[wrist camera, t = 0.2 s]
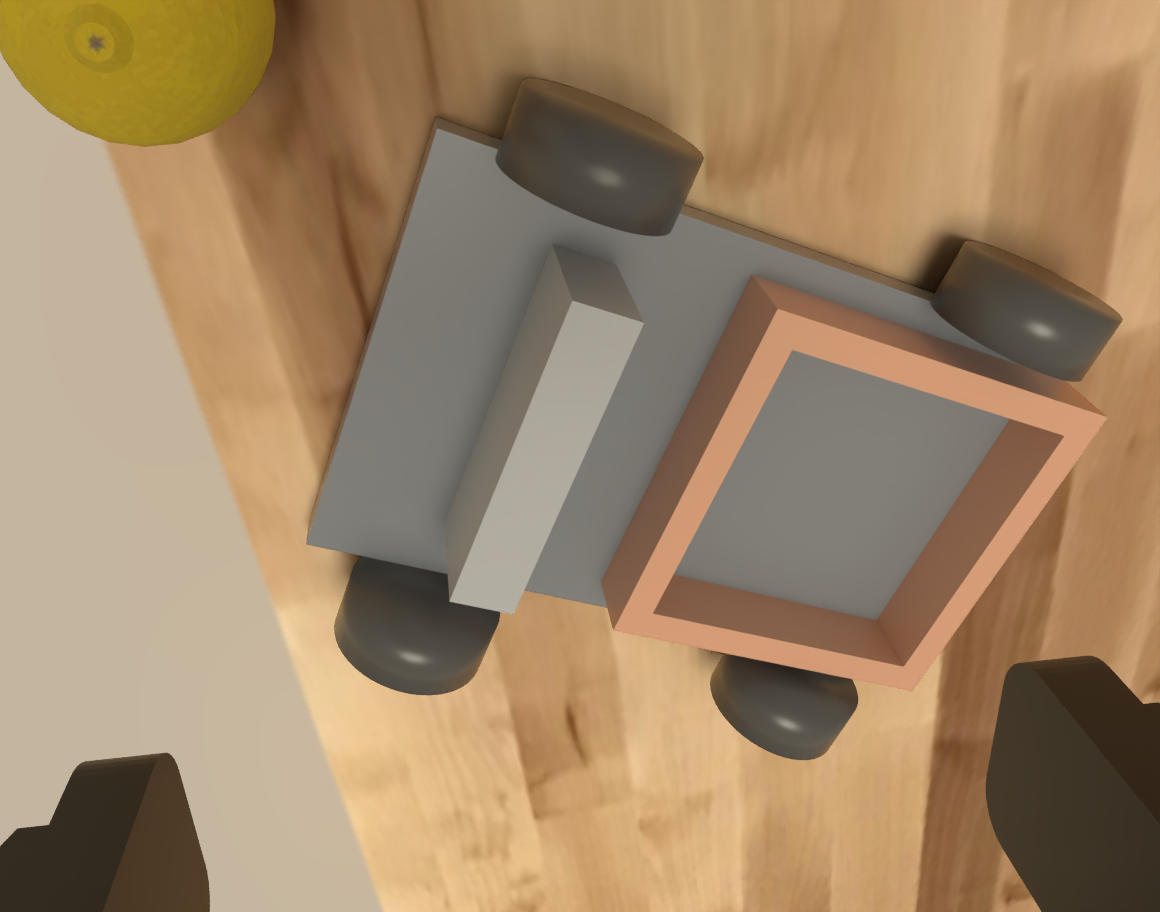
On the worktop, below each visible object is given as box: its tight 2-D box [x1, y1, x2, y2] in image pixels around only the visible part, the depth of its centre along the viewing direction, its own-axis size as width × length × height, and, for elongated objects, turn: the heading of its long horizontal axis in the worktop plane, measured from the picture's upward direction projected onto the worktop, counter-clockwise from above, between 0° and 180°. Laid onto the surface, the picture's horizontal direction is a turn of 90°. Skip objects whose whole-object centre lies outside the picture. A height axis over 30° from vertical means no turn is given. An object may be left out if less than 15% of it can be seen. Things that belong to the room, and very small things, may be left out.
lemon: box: [0, 0, 276, 147], centre depth 22 cm, size 6×6×8 cm
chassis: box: [306, 79, 1123, 760], centre depth 32 cm, size 18×22×5 cm
